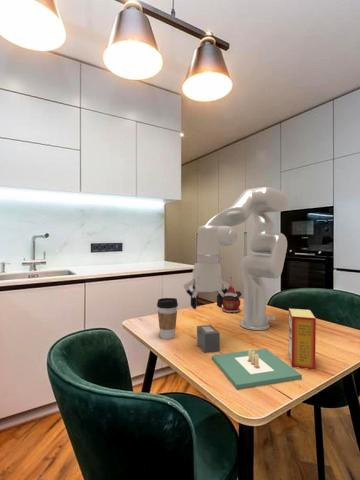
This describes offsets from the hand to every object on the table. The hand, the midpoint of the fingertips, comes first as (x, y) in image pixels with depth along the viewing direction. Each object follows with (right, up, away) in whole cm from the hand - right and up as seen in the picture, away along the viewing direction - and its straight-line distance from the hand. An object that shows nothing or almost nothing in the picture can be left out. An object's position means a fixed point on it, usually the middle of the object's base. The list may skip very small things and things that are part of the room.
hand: (206, 307), depth 97 cm
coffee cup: (-15, -15, +11) cm, 24 cm away
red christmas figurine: (+18, -14, +46) cm, 52 cm away
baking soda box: (+29, -15, -10) cm, 34 cm away
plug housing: (+1, -15, +1) cm, 15 cm away
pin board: (+13, -15, -15) cm, 24 cm away
